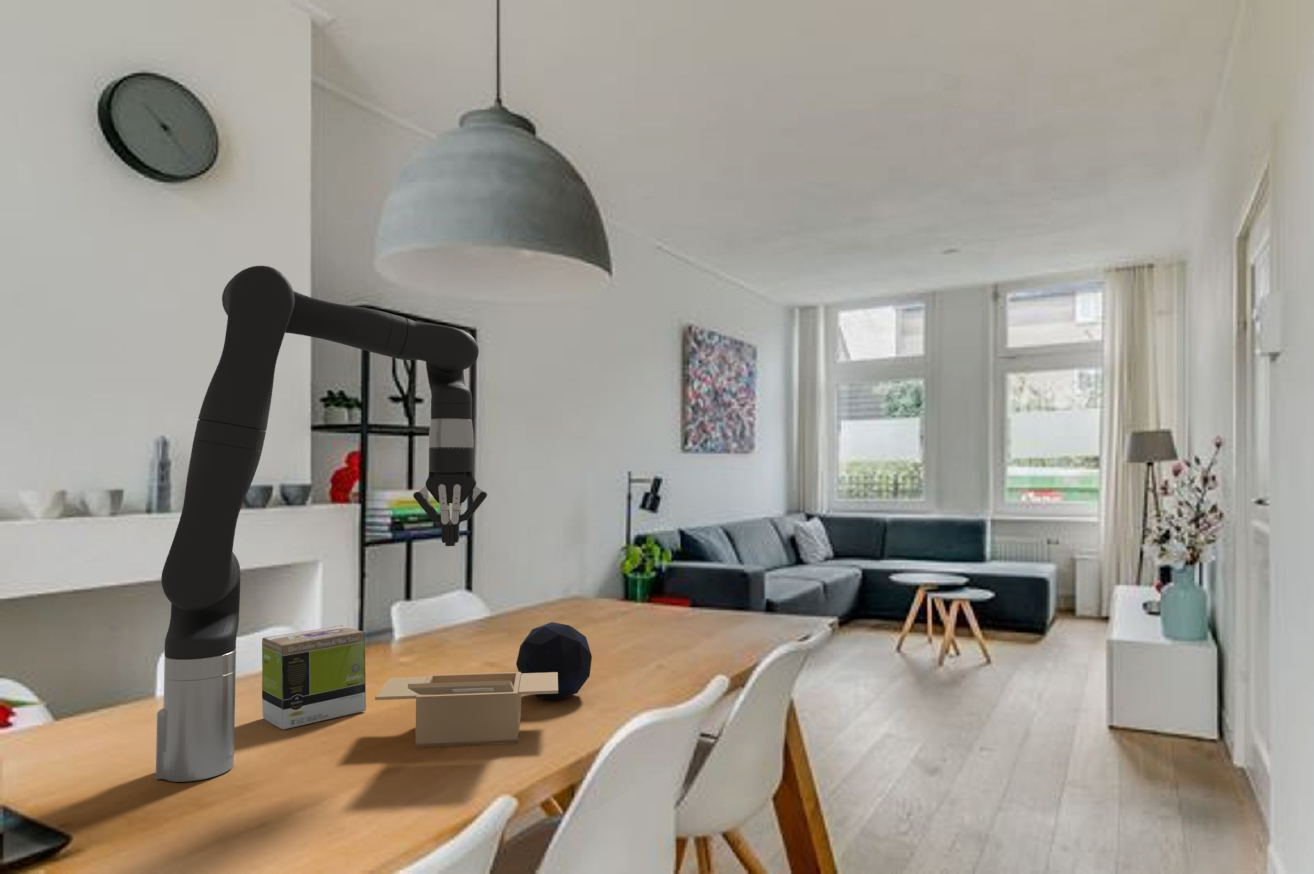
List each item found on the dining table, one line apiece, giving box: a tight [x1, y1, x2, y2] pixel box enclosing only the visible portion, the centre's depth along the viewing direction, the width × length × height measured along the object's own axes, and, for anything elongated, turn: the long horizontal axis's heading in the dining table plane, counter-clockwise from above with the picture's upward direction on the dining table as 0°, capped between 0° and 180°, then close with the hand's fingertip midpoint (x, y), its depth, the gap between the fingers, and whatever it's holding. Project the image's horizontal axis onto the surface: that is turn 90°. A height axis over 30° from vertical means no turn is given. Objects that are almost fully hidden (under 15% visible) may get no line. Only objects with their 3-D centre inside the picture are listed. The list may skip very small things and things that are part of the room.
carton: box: [374, 671, 558, 749], centre depth 138 cm, size 29×15×8 cm, turn 97°
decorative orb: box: [515, 621, 593, 702], centre depth 158 cm, size 14×15×15 cm
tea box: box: [261, 625, 367, 730], centre depth 147 cm, size 15×10×15 cm
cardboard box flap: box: [408, 680, 514, 695], centre depth 125 cm, size 15×1×12 cm
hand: (450, 545), depth 141 cm, fingers closed
